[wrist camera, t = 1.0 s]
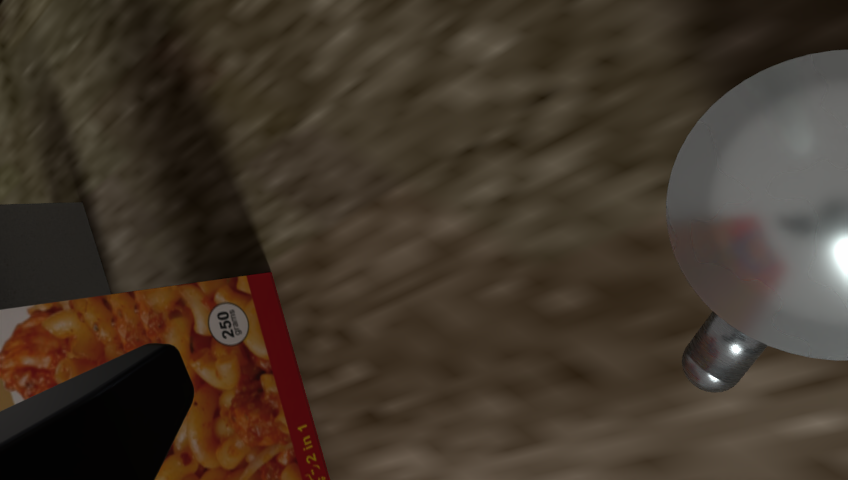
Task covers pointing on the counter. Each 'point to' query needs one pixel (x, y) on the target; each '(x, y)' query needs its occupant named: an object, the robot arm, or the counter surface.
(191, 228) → the counter surface
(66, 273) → the architectural model
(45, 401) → the robot arm
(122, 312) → the pasta box
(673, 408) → the counter surface
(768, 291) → the spout can
